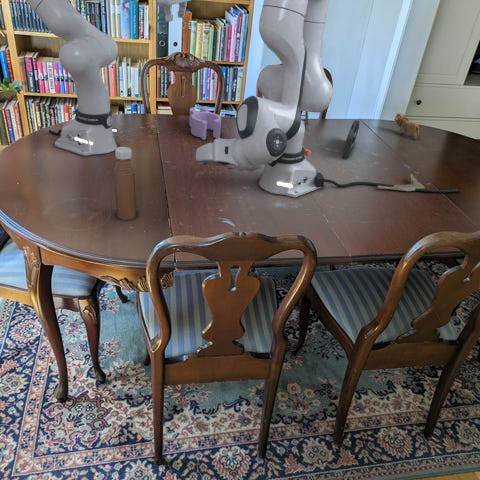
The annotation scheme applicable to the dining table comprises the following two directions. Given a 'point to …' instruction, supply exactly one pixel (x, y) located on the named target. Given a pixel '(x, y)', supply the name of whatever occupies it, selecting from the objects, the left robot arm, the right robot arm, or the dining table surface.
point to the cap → (123, 153)
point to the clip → (204, 123)
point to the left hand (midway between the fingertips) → (175, 19)
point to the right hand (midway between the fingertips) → (215, 164)
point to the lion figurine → (406, 124)
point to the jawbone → (405, 187)
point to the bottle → (125, 189)
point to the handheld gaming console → (351, 139)
